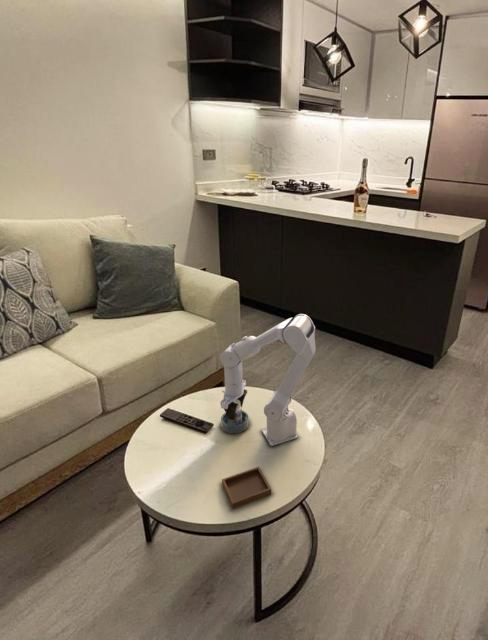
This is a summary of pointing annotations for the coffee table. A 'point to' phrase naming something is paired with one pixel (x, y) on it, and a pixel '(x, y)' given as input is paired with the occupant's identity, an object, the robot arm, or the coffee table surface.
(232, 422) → the pill bottle
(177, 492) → the coffee table surface
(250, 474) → the tray
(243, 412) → the bowl
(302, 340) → the robot arm
